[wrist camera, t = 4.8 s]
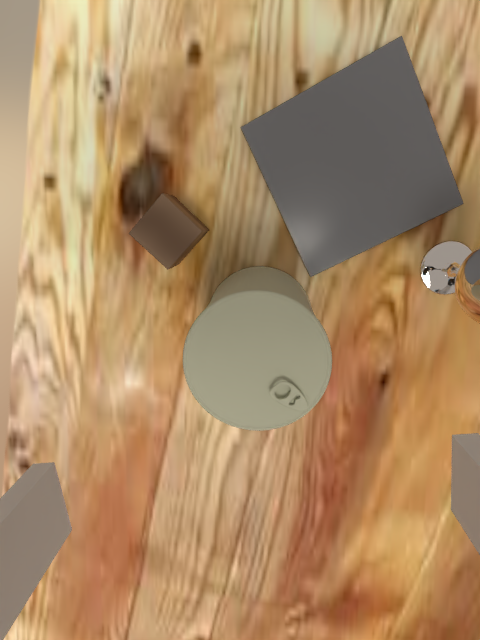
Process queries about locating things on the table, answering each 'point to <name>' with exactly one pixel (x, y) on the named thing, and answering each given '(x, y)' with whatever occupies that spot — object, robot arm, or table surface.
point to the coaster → (354, 159)
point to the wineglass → (454, 274)
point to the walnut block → (168, 230)
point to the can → (258, 351)
